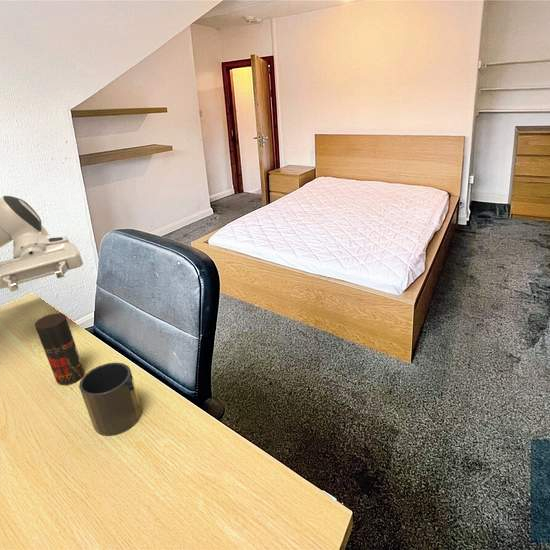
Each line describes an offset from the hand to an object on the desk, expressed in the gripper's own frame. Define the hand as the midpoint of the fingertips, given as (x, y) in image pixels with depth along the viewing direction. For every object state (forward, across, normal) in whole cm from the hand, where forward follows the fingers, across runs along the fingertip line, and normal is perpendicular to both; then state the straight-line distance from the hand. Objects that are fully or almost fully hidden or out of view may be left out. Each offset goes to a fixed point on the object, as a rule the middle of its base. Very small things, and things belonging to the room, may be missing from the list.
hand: (37, 281), depth 91 cm
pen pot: (+30, +7, +18) cm, 36 cm away
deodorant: (+11, 0, +20) cm, 23 cm away
